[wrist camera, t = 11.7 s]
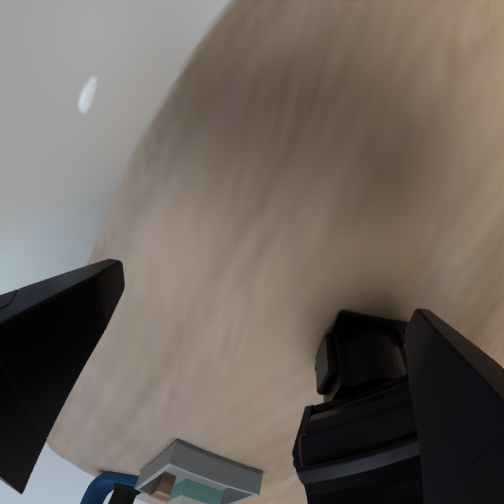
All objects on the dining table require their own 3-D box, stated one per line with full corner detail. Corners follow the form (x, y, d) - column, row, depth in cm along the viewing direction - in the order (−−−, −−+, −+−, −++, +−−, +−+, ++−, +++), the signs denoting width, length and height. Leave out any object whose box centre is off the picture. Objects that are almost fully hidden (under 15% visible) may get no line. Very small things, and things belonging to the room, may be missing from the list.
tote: (177, 438, 35) (168, 463, 31) (262, 471, 36) (259, 494, 33) (140, 471, 43) (134, 488, 40) (205, 497, 45) (201, 514, 41)
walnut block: (164, 471, 40) (157, 490, 36) (209, 488, 41) (204, 507, 37) (154, 478, 42) (148, 495, 39) (195, 494, 43) (191, 511, 40)
